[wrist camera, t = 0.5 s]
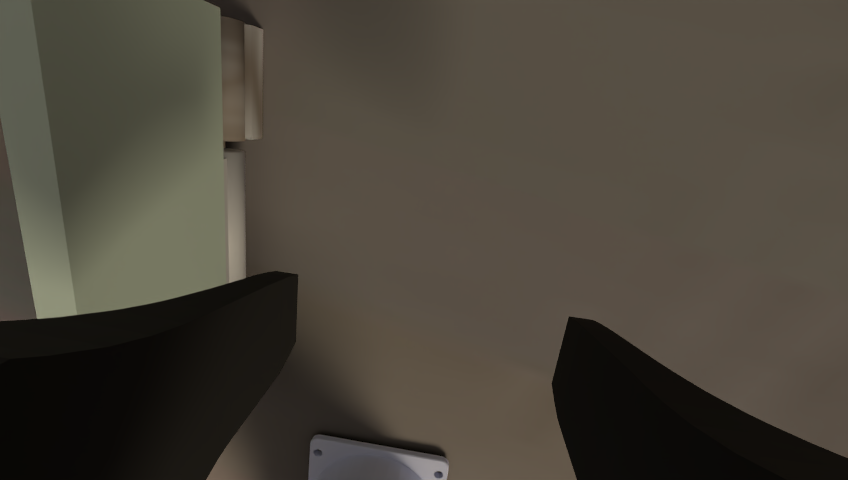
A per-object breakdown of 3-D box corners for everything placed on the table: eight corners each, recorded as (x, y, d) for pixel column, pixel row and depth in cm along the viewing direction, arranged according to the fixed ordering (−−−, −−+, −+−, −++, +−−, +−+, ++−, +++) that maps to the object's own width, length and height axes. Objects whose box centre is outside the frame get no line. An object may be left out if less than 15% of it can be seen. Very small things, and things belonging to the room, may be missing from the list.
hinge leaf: (221, 384, 22) (251, 387, 22) (75, 582, 13) (126, 587, 13) (211, 14, 17) (251, 19, 17) (-56, -97, 8) (34, -84, 8)
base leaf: (260, 377, 23) (236, 408, 21) (71, 344, 24) (26, 371, 21) (263, 24, 18) (230, 10, 15) (16, -7, 18) (-53, -25, 16)
